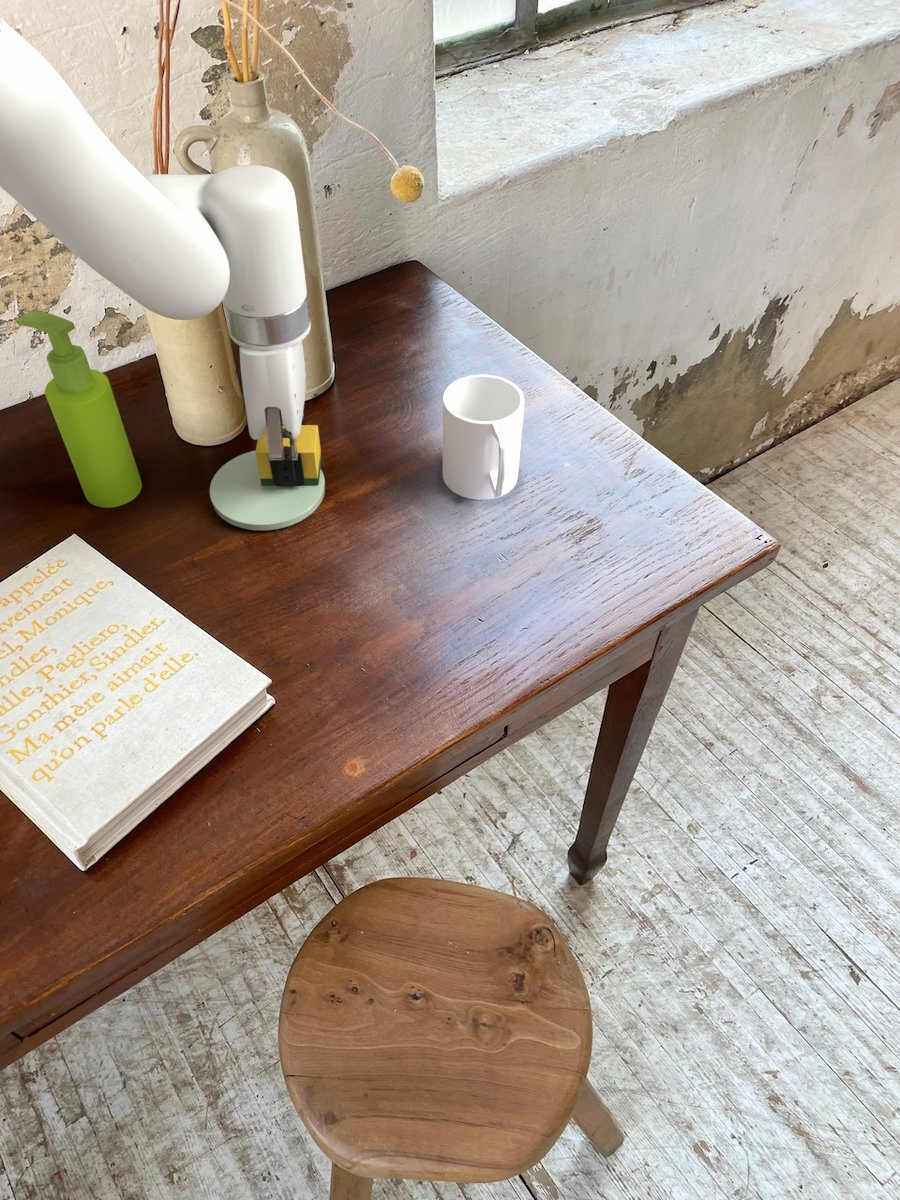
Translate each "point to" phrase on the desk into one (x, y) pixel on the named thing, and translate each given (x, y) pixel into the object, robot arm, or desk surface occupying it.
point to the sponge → (305, 445)
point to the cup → (482, 436)
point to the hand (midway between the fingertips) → (291, 466)
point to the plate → (260, 497)
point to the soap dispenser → (87, 417)
